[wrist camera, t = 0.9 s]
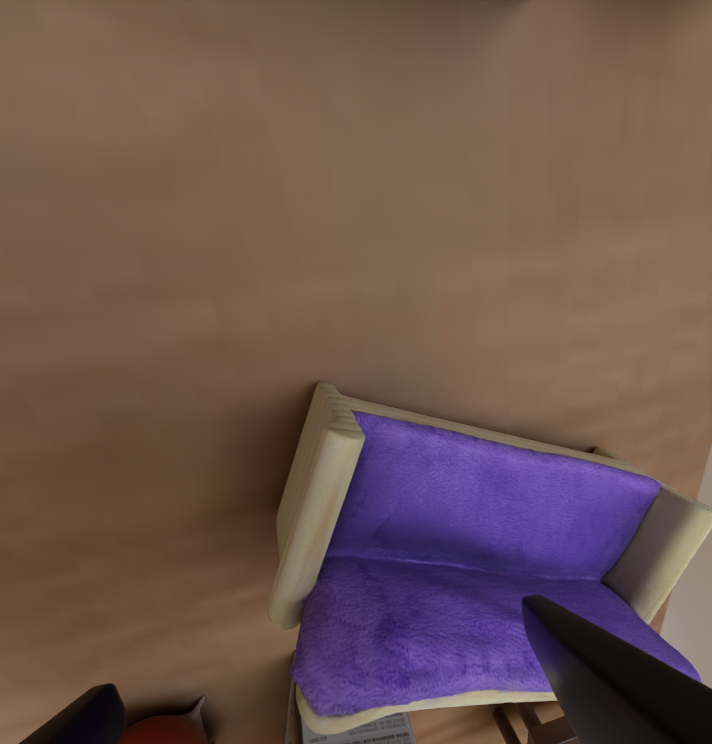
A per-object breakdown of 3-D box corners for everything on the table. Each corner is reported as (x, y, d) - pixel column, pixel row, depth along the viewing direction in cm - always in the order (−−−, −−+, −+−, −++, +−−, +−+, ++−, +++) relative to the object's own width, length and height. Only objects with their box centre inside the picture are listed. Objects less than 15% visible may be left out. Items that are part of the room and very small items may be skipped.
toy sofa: (611, 447, 25) (826, 565, 15) (556, 554, 27) (717, 720, 17) (308, 370, 19) (351, 486, 9) (263, 516, 21) (260, 741, 11)
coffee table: (489, 722, 31) (533, 816, 26) (491, 662, 28) (540, 751, 23) (612, 678, 33) (676, 756, 28) (623, 619, 31) (695, 692, 26)
